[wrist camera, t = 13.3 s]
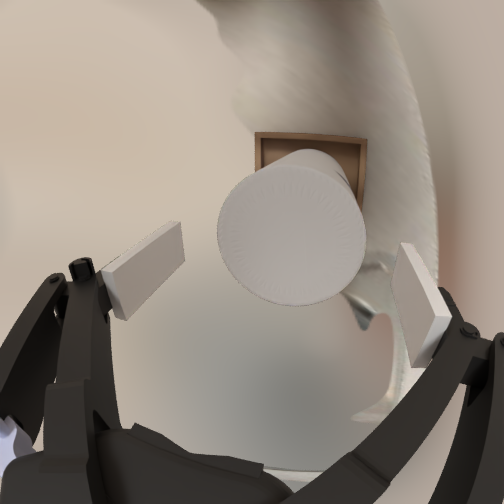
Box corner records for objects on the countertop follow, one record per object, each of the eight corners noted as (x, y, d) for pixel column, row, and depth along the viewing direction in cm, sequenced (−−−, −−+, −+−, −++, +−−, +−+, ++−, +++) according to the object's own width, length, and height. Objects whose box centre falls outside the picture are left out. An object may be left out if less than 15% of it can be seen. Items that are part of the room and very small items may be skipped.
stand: (259, 132, 35) (254, 132, 32) (364, 138, 31) (367, 139, 29) (259, 229, 40) (255, 235, 38) (355, 238, 37) (356, 245, 35)
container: (353, 215, 35) (373, 298, 18) (282, 227, 39) (240, 313, 21) (337, 142, 32) (350, 150, 14) (263, 158, 35) (197, 187, 18)
